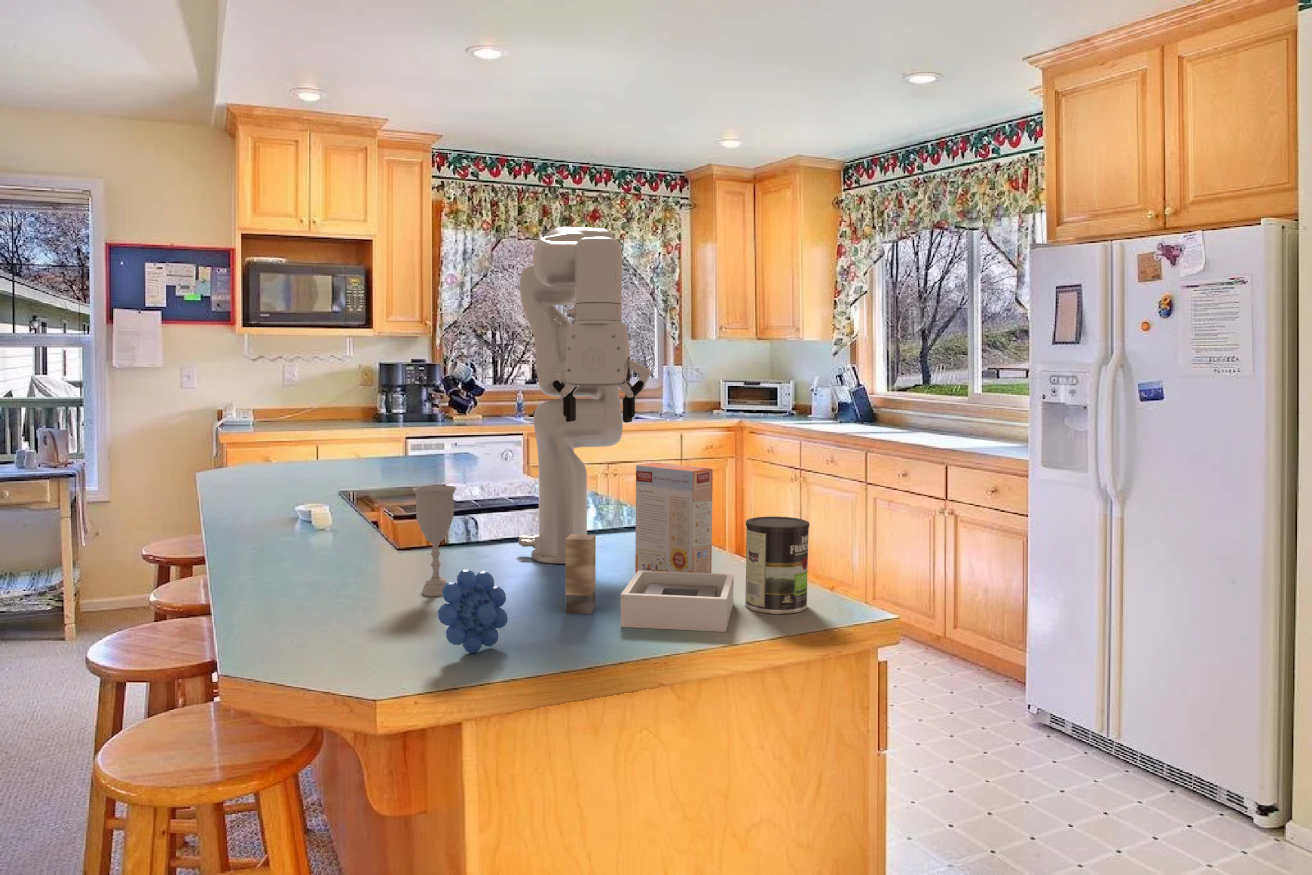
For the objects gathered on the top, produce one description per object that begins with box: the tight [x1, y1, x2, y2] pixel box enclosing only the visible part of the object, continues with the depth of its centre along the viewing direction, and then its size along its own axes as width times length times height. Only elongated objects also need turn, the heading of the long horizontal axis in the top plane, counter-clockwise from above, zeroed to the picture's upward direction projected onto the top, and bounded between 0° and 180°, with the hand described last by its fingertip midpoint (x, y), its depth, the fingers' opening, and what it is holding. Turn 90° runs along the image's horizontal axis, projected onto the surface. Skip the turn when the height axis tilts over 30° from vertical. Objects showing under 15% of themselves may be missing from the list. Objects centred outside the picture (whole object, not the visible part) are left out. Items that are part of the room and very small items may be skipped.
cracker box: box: [634, 462, 714, 575], centre depth 178 cm, size 14×6×21 cm, turn 47°
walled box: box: [620, 570, 735, 633], centre depth 155 cm, size 16×16×5 cm
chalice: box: [412, 485, 457, 597], centre depth 168 cm, size 7×7×18 cm
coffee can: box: [744, 516, 810, 615], centre depth 160 cm, size 10×10×14 cm
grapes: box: [437, 569, 508, 654], centre depth 135 cm, size 12×7×12 cm, turn 139°
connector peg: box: [565, 534, 597, 615], centre depth 157 cm, size 4×4×12 cm
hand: (599, 421), depth 159 cm, fingers open, 9 cm apart
